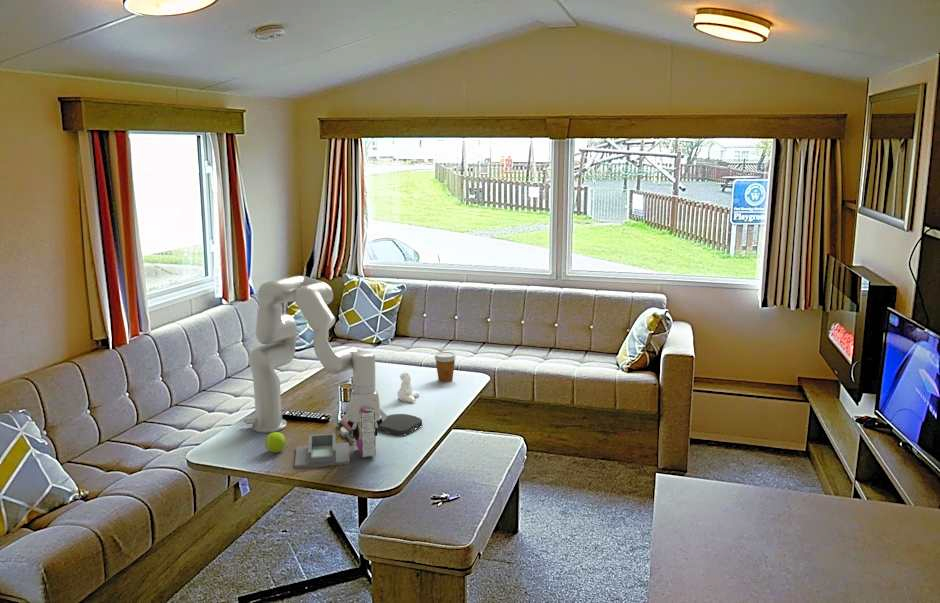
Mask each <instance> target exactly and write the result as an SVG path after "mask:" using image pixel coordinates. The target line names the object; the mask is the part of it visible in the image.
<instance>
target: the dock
mask: <svg viewBox="0 0 940 603" xmlns="http://www.w3.org/2000/svg"><path fill="white" fill-rule="evenodd" d="M336 439H337V438H336V433H323V434H322V433H321V434H309V436H308V445H298V446H296V447H295V448H296V450H295V457H294V469H302V468H315V467H327V466H328V465H330V466H342V465H343V464H344V465H350V464H351V461H350V460H351V459H350V458H351V457H350V442H338V443H337V440H336ZM328 467H329V466H328Z"/></svg>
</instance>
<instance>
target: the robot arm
mask: <svg viewBox="0 0 940 603" xmlns="http://www.w3.org/2000/svg"><path fill="white" fill-rule="evenodd" d="M333 300H334V292H333V289H332V287H331V286H330V285H329V284H327V282H324V281H322V280H319V279H315V278H312V277H309V276H305V275H294V276H290V277H283V278H278V279H274V280H270V281H267V282H263V283H262V284H261V285H260V286H259V289H258V291H257V303H258V305H257V306H258V308H257V317H256V325H255V326H256V327H255V337H256V340H257V342H258V343H260V344H261V345H260V346H257V347H255V348H254V349H253V350H251V351H250V353H249V356H248V363H249V367H250V371H251V376H252V382H253V385H252V386H253V394H254V395H253V396H254V408H255V409H254V410H255V415H252V417H248V416H247V417H243V423H246V425H251V428H252V430H253V431H254V432H257V433H260V434H261V433H262V434H265V433H266V434H267V433H269V434H270V433H273V432H279V431H282V430H284V429H285V428H286V427H288V426H287V425H288V424H287V420H286V419H284V418H283V412H282V411H283V410H282V394H281V392H282V391H281V381H280V377H279V376H278V375H277V373H276V372H275V370H276V369H278V368H280V367H283V366H286V365H288V364H290V363H291V362H292V361H293V359H294V358H295V353H296V347H297V346H296V345H297V344H296V343H297V337H298V326H297V322H296V320H295V318H294V317H293V316H292V315H290V314H288V313H283V306H282V304H284V303H288V302H295V304H296V305H297V307H298V309H299V310H300V312H301V314H302V315H303V316H304V318H305V320H306V322H308V325H309V326H310V328H311V329H312V331H313V341H312V342H313V348H314V349H313V350H314V353H315V355H316V358H317V359H318V360H319V362H320V364H321V365H322V366H323V367H322V368H324V369H325V371H327V373H329V374H330V375H339V374H342V373H345V372H347V371H352V384H350V385H348V390H351V392H350V398H349V410H347V412H346V413H345V414H344V416H343V417H342V419H343V421H344V422H346V423H347V424H348V425H349V426H350V427H352V429H353V437H352V438H354V439H355V440H354V441H356V440H357V427H356V426H357V423H358V422H359V409H374V411H375V440H376V436H378V430H377V428H378V426H379V425H380V424H381V423H382V422H383V421H384V420H385V419H386V418H387V416H388V415H387V414H386V413H385V412H384V411H383V410H382V409H381V408H380V407H381V405H380V404H381V403H380V396H379V392H378V390H377V388H376V356H375V354H374V352H372V351H368V350H362V349H360V348H358V347H356V346H347V347H344V348H341V349H337V350H336V351H335V350H334V349H333V348H332V346H331V345H330V342H329V339H328V334H329V331H330V329H332V327H333V326H334V325H335V323H336V316H334V314H333V313H332V311H331V309H330V308H329V307H328V305H329V304H331V303H332V302H333ZM348 418H350V420H349V419H348ZM342 419H341V420H342Z"/></svg>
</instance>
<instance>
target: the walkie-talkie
mask: <svg viewBox="0 0 940 603" xmlns="http://www.w3.org/2000/svg"><path fill="white" fill-rule="evenodd" d="M348 419H349V420H350V417H348ZM337 425H338V426H339V428H340V430H339V434H340V435H341V436H342V438H343V437H345V438H346V439H347V440H348V441H349V442H351V443H352V444H354V443H355V440H354V439H353V438H354V437H353V429H352V427H350V426H349V425H348V424H347V423H346V422H344V421H343V419H341V420H340V421H339V422H338V424H337ZM350 436H351V437H350Z"/></svg>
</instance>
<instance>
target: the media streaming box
mask: <svg viewBox="0 0 940 603" xmlns="http://www.w3.org/2000/svg"><path fill="white" fill-rule="evenodd" d="M420 426H423V420H422V418H420V417H417V416H415V415H412V414H406V413H396V414H395V413H394V414H389V415H387V418H386V419H385V420H384V421H383V422H382V423H381V424H380V425H379V426H378V428H377V432H382V433H384V432H385V434H389V433H390V435H393V434H396V435H395V436H399V435H402V436H405V435H404V434H407V435H409V434H408V433H410V432H412V431H413V432H415V431H416V430H415V428H419V427H420ZM420 428H421V427H420ZM420 428H419V429H420ZM414 430H415V431H414ZM413 432H412V433H413ZM410 434H411V433H410Z"/></svg>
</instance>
